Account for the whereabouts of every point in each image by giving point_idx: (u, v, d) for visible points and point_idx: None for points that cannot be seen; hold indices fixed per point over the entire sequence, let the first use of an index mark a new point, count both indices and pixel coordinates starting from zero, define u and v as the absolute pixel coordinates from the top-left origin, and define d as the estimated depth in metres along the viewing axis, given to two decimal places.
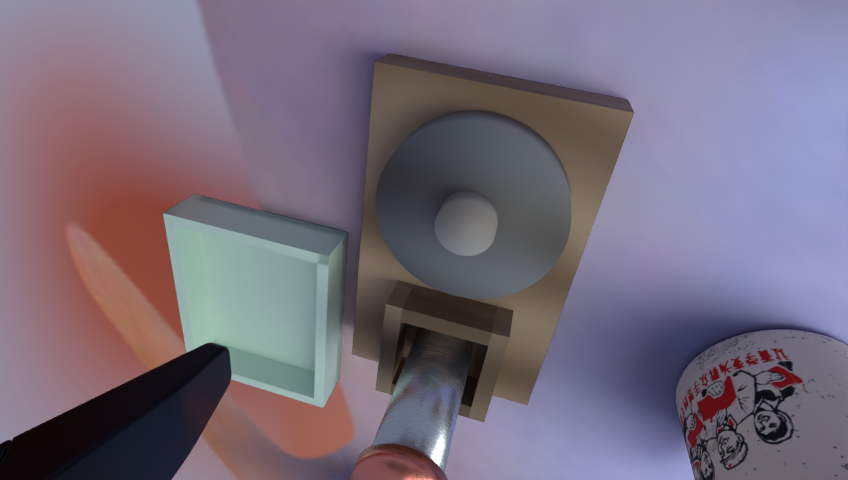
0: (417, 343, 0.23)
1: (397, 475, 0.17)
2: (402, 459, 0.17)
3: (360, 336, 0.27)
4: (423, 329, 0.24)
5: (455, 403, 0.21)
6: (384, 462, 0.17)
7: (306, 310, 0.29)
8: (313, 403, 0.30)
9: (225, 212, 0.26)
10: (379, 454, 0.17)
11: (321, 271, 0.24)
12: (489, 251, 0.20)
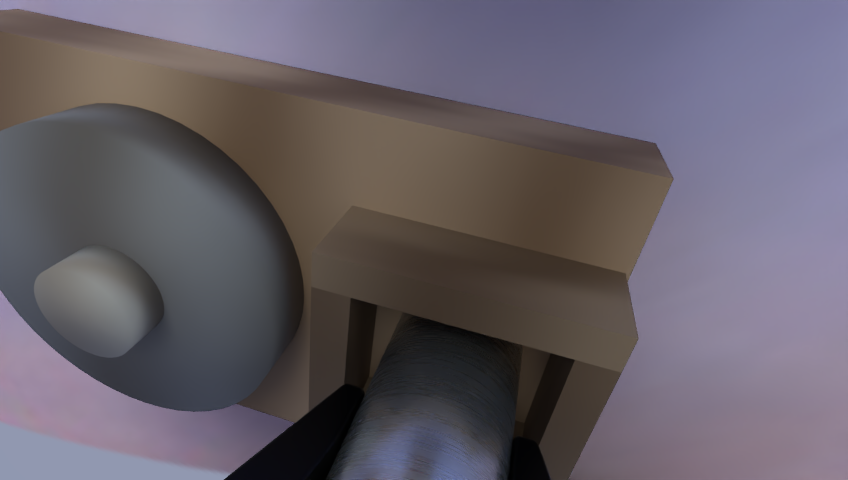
0: None
1: None
2: None
3: None
4: None
5: (369, 464, 0.07)
6: None
7: None
8: None
9: None
10: None
11: None
12: (160, 264, 0.11)
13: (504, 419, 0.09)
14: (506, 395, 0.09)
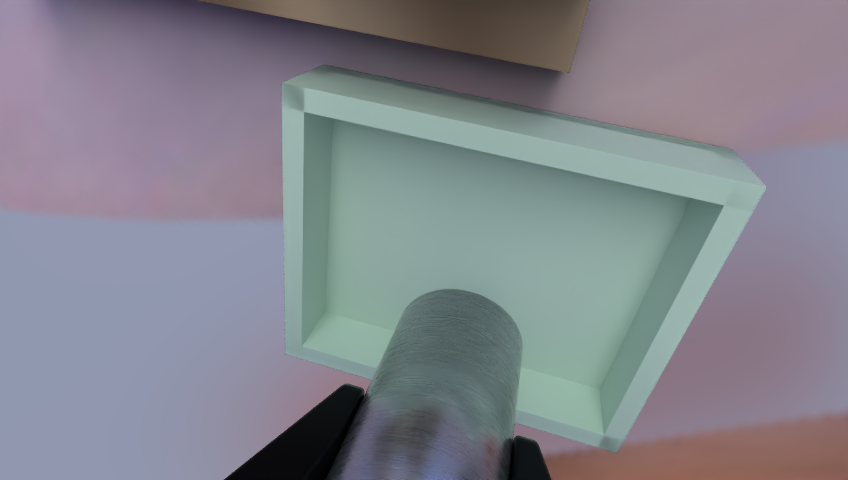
0: None
1: None
2: None
3: (505, 40, 0.11)
4: None
5: (369, 465, 0.07)
6: None
7: (498, 181, 0.14)
8: (745, 211, 0.11)
9: None
10: None
11: (320, 105, 0.12)
12: None
13: (504, 420, 0.09)
14: (507, 397, 0.09)
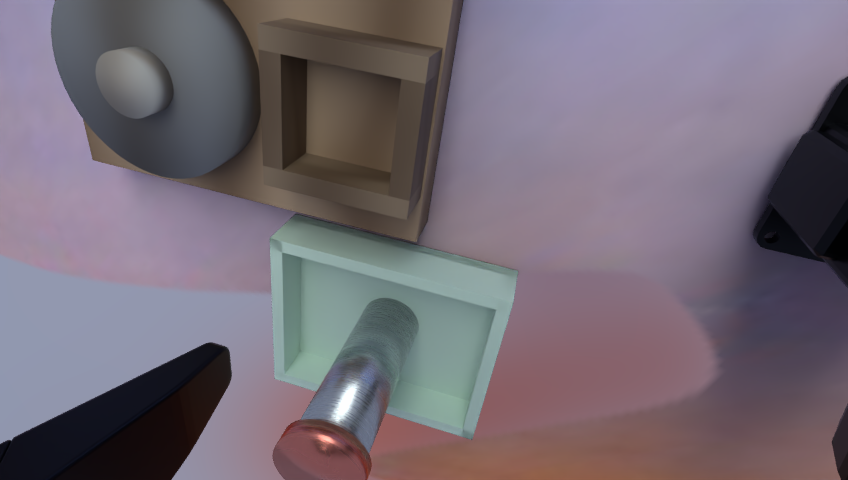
0: None
1: (286, 462, 0.18)
2: None
3: (383, 225, 0.21)
4: None
5: (344, 360, 0.21)
6: (276, 466, 0.18)
7: (395, 282, 0.24)
8: (506, 313, 0.21)
9: None
10: None
11: (290, 250, 0.22)
12: (171, 55, 0.18)
13: (399, 349, 0.22)
14: (402, 341, 0.23)
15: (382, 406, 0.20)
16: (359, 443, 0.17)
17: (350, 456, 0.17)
